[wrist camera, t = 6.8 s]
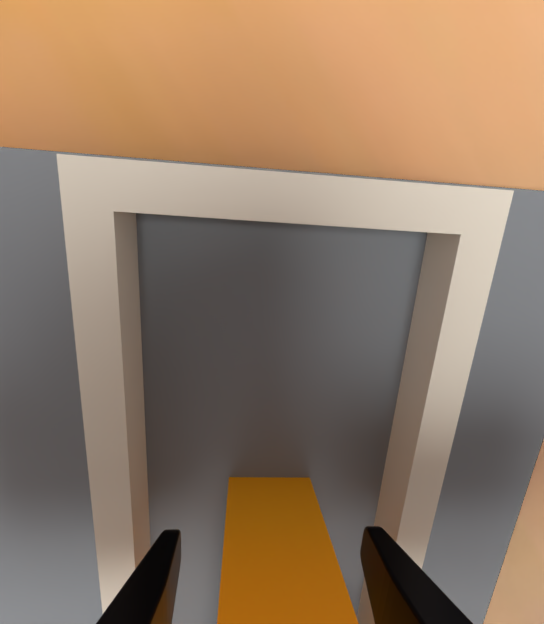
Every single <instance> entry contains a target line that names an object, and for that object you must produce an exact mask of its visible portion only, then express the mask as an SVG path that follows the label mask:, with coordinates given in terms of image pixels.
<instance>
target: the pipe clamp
mask: <svg viewBox="0 0 544 624" xmlns="http://www.w3.org/2000/svg"><path fill="white" fill-rule="evenodd" d="M217 624H359V623H358V620H357V617H356V614H355V611H354V608H353V605H352V602H351V599H350V596H349V593H348V590H347V587H346V584H345V581H344V578H343V575H342V572H341V569H340V566H339V563H338V560H337V557H336V554H335V551H334V548H333V545H332V542H331V539H330V536H329V533H328V530H327V527H326V524H325V521H324V518H323V515H322V512H321V509H320V506H319V503H318V500H317V497H316V495H315V492H314V489H313V486H312V483H311V480H310V478H305V477H229V482H228V494H227V506H226V519H225V531H224V543H223V555H222V568H221V580H220V592H219V605H218V617H217Z"/></svg>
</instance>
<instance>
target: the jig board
mask: <svg viewBox="0 0 544 624" xmlns="http://www.w3.org/2000/svg"><path fill="white" fill-rule="evenodd" d="M543 439H544V191H539V190H526V189H514V188H502V187H489V186H477V185H465V184H452V183H440V182H428V181H415V180H403V179H391V178H378V177H366V176H353V175H341V174H329V173H316V172H304V171H292V170H279V169H267V168H255V167H242V166H230V165H218V164H205V163H193V162H181V161H168V160H156V159H143V158H131V157H119V156H106V155H94V154H82V153H69V152H57V151H45V150H32V149H20V148H8V147H0V624H96V623H97V621H98V620H99V619H100V617H101V616H102V614H103V613H104V612H105V610H106V609H107V607H108V606H109V605H110V603H111V602H112V601H113V599H114V598H115V596H116V595H117V594H118V592H119V591H120V589H121V588H122V587H123V585H124V584H125V583H126V581H127V580H128V578H129V577H130V576H131V574H132V573H133V571H134V570H135V569H136V567H137V566H138V564H139V563H140V562H141V560H142V559H143V558H144V556H145V555H146V553H147V552H148V551H149V549H150V548H151V546H152V545H153V544H154V542H155V541H156V539H157V538H158V537H159V535H160V534H161V533H162V532H163V531H164V530H166V529H179V530H180V531H181V565H180V572H179V578H178V585H177V592H176V598H175V605H174V612H173V618H172V624H217V617H218V605H219V592H220V580H221V568H222V555H223V543H224V531H225V519H226V506H227V494H228V482H229V477H305V478H310V480H311V483H312V486H313V489H314V492H315V495H316V497H317V500H318V503H319V506H320V509H321V512H322V515H323V518H324V521H325V524H326V527H327V530H328V533H329V536H330V539H331V542H332V545H333V548H334V551H335V554H336V557H337V560H338V563H339V566H340V569H341V572H342V575H343V578H344V581H345V584H346V587H347V590H348V593H349V596H350V599H351V602H352V605H353V608H354V611H355V614H356V617H357V620H358V623H359V624H375V622H374V617H373V613H372V608H371V604H370V599H369V595H368V591H367V586H366V582H365V577H364V573H363V568H362V564H361V558H360V548H361V543H362V537H363V531H364V528H365V527H366V526H380V527H382V528H383V529H384V530H385V531H386V532H387V533H388V534H389V535H390V536H391V537H392V538H393V539H394V541H395V542H396V543H397V544H398V545H399V546H400V547H401V548H402V549H403V550H404V551H405V552H406V553H407V554H408V555H409V556H410V557H411V558H412V560H413V561H414V562H415V563H416V564H417V565H418V566H419V567H420V568H421V569H422V570H423V571H424V572H425V573H426V574H427V575H428V576H429V577H430V579H431V580H432V581H433V582H434V583H435V584H436V585H437V586H438V587H439V588H440V589H441V590H442V591H443V592H444V593H445V594H446V595H447V596H448V598H449V599H450V600H451V601H452V602H453V603H454V604H455V605H456V606H457V607H458V608H459V609H460V610H461V611H462V612H463V613H464V614H465V615H466V617H467V618H468V619H469V620H470V621H471V622H472V623H473V624H483V622H484V619H485V616H486V613H487V609H488V606H489V603H490V600H491V597H492V594H493V591H494V588H495V585H496V582H497V579H498V576H499V573H500V570H501V567H502V564H503V561H504V558H505V555H506V552H507V548H508V545H509V542H510V539H511V536H512V533H513V530H514V527H515V524H516V521H517V518H518V515H519V512H520V509H521V506H522V503H523V500H524V497H525V494H526V490H527V487H528V484H529V481H530V478H531V475H532V472H533V469H534V466H535V463H536V460H537V457H538V454H539V451H540V448H541V445H542V442H543Z"/></svg>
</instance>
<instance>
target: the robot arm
mask: <svg viewBox="0 0 544 624" xmlns="http://www.w3.org/2000/svg"><path fill="white" fill-rule="evenodd" d="M360 558H361V564H362V568H363V573H364V577H365V582H366V586H367V591H368V595H369V599H370V604H371V608H372V613H373V617H374V622H375V624H473V623H472V622H471V621H470V620H469V619H468V618H467V617H466V615H465V614H464V613H463V612H462V611H461V610H460V609H459V608H458V607H457V606H456V605H455V604H454V603H453V602H452V601H451V600H450V599H449V598H448V596H447V595H446V594H445V593H444V592H443V591H442V590H441V589H440V588H439V587H438V586H437V585H436V584H435V583H434V582H433V581H432V580H431V579H430V577H429V576H428V575H427V574H426V573H425V572H424V571H423V570H422V569H421V568H420V567H419V566H418V565H417V564H416V563H415V562H414V561H413V560H412V558H411V557H410V556H409V555H408V554H407V553H406V552H405V551H404V550H403V549H402V548H401V547H400V546H399V545H398V544H397V543H396V542H395V541H394V539H393V538H392V537H391V536H390V535H389V534H388V533H387V532H386V531H385V530H384V529H383V528H382V527H380V526H366V527H365V528H364V531H363V537H362V543H361V548H360ZM180 565H181V531H180V530H179V529H166V530H164V531H163V532H162V533H161V534H160V535H159V537H158V538H157V539H156V541H155V542H154V544H153V545H152V546H151V548H150V549H149V551H148V552H147V553H146V555H145V556H144V558H143V559H142V560H141V562H140V563H139V564H138V566H137V567H136V569H135V570H134V571H133V573H132V574H131V576H130V577H129V578H128V580H127V581H126V583H125V584H124V585H123V587H122V588H121V589H120V591H119V592H118V594H117V595H116V596H115V598H114V599H113V601H112V602H111V603H110V605H109V606H108V607H107V609H106V610H105V612H104V613H103V614H102V616H101V617H100V619H99V620H98V621H97V623H96V624H172V618H173V612H174V605H175V598H176V592H177V585H178V578H179V572H180Z"/></svg>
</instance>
